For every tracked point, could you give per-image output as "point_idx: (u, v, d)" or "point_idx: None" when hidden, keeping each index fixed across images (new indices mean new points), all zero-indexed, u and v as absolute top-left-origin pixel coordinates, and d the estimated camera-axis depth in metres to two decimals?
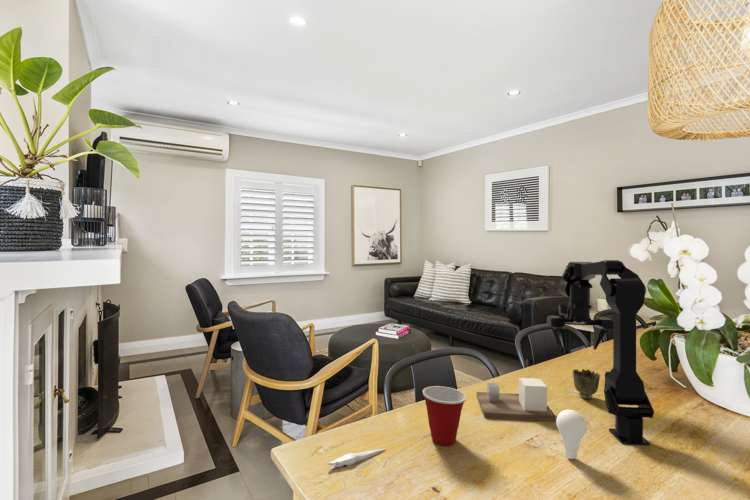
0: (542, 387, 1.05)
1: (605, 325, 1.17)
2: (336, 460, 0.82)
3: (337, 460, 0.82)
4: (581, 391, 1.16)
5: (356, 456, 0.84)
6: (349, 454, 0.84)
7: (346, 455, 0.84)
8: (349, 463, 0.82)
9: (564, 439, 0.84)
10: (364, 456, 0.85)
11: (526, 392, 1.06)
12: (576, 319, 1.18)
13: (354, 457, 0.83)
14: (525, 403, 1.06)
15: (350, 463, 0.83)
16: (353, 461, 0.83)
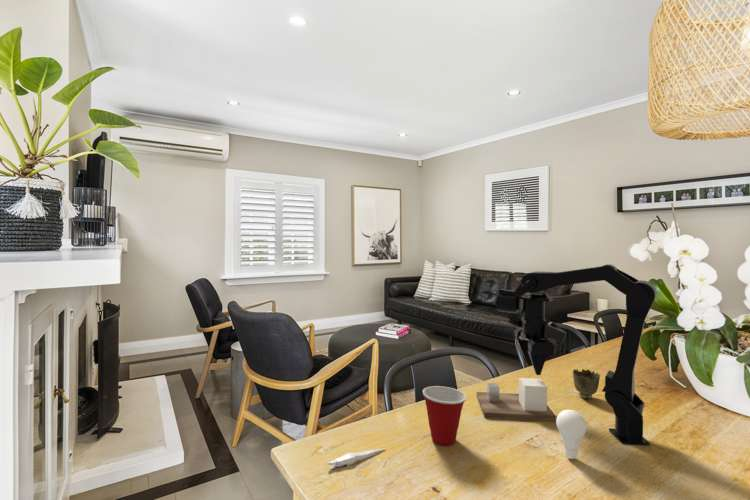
0: (542, 387, 1.05)
1: (528, 346, 1.02)
2: (336, 460, 0.82)
3: (337, 460, 0.82)
4: (581, 391, 1.16)
5: (356, 456, 0.84)
6: (349, 454, 0.84)
7: (346, 455, 0.84)
8: (349, 463, 0.83)
9: (564, 439, 0.84)
10: (364, 456, 0.85)
11: (526, 392, 1.06)
12: (521, 332, 1.10)
13: (354, 457, 0.83)
14: (525, 403, 1.06)
15: (350, 463, 0.83)
16: (353, 461, 0.83)
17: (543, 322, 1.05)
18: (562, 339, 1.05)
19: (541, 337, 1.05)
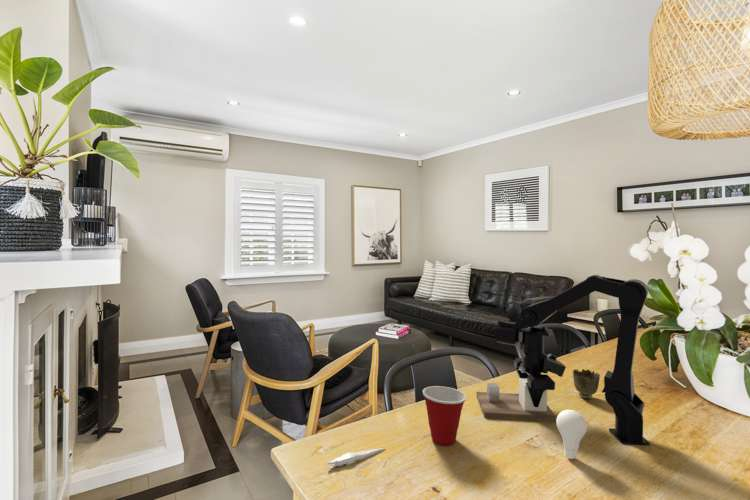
0: None
1: (528, 381, 1.02)
2: (335, 459, 0.82)
3: (336, 459, 0.82)
4: (581, 391, 1.16)
5: (355, 455, 0.84)
6: (348, 453, 0.84)
7: (345, 454, 0.84)
8: (349, 462, 0.83)
9: (564, 439, 0.84)
10: (363, 455, 0.85)
11: (526, 392, 1.06)
12: (520, 365, 1.10)
13: (354, 456, 0.84)
14: (525, 403, 1.06)
15: (349, 462, 0.83)
16: (352, 460, 0.83)
17: (542, 356, 1.05)
18: (561, 373, 1.05)
19: (540, 371, 1.06)
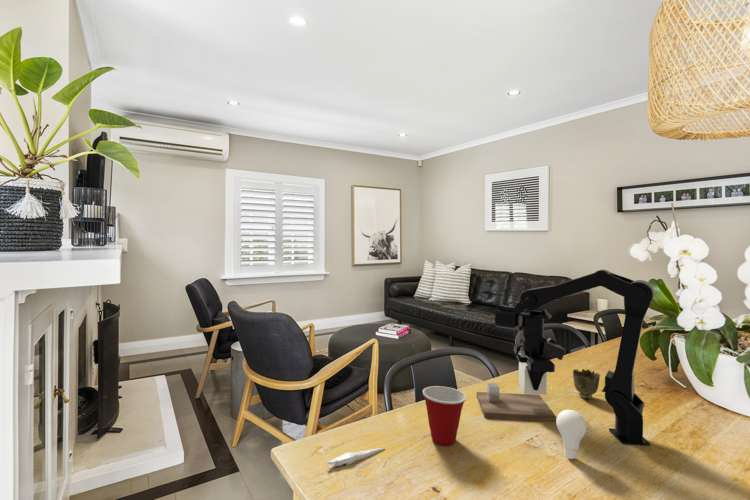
0: None
1: (528, 363, 1.02)
2: (335, 459, 0.82)
3: (336, 459, 0.82)
4: (581, 391, 1.16)
5: (355, 455, 0.84)
6: (348, 453, 0.85)
7: (345, 454, 0.84)
8: (348, 462, 0.83)
9: (564, 439, 0.84)
10: (363, 455, 0.85)
11: (526, 375, 1.06)
12: (520, 349, 1.10)
13: (353, 456, 0.84)
14: (525, 386, 1.06)
15: (349, 462, 0.83)
16: (352, 460, 0.83)
17: (542, 339, 1.05)
18: (561, 356, 1.05)
19: (540, 354, 1.05)
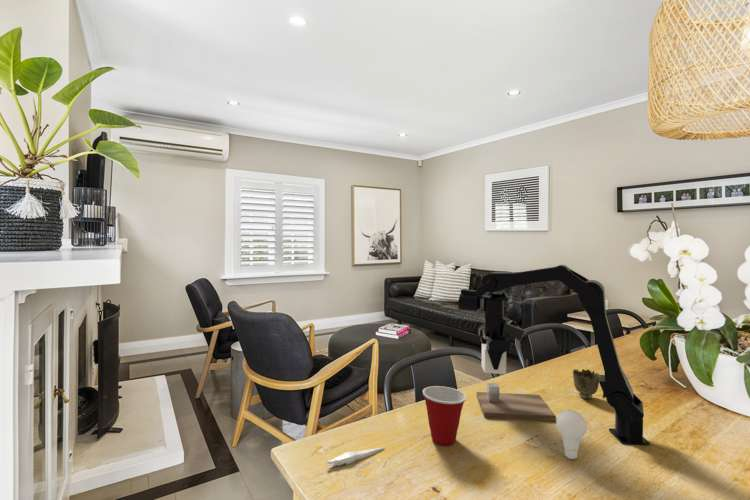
0: None
1: (487, 343, 1.06)
2: (335, 459, 0.83)
3: (336, 459, 0.83)
4: (581, 391, 1.16)
5: (355, 455, 0.84)
6: (348, 453, 0.85)
7: (345, 454, 0.84)
8: (348, 462, 0.83)
9: (564, 439, 0.84)
10: (363, 455, 0.85)
11: (486, 355, 1.10)
12: None
13: (353, 456, 0.84)
14: (485, 366, 1.10)
15: (349, 462, 0.83)
16: (352, 460, 0.83)
17: (502, 320, 1.09)
18: (520, 337, 1.09)
19: (500, 335, 1.09)
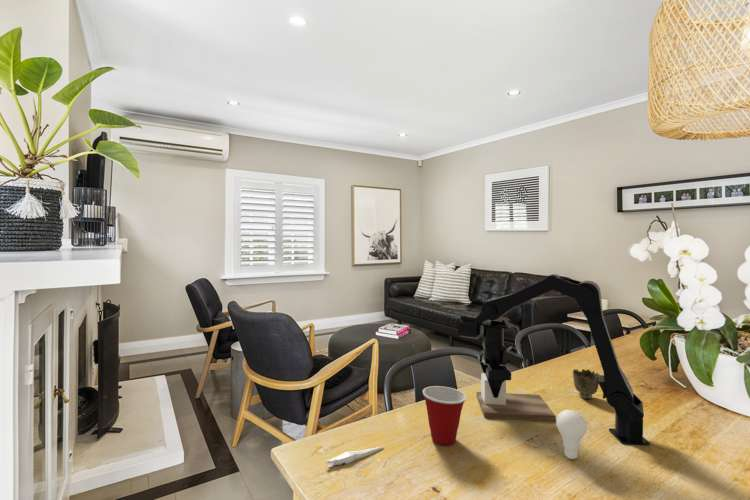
0: None
1: (486, 372, 1.06)
2: (334, 458, 0.83)
3: (335, 458, 0.83)
4: (581, 391, 1.16)
5: (354, 454, 0.85)
6: (347, 452, 0.85)
7: (344, 453, 0.84)
8: (348, 461, 0.83)
9: (564, 439, 0.84)
10: (362, 454, 0.86)
11: (486, 386, 1.10)
12: (482, 357, 1.15)
13: (352, 455, 0.84)
14: (485, 397, 1.10)
15: (348, 461, 0.83)
16: (351, 459, 0.83)
17: (502, 348, 1.10)
18: (520, 364, 1.09)
19: (500, 362, 1.10)
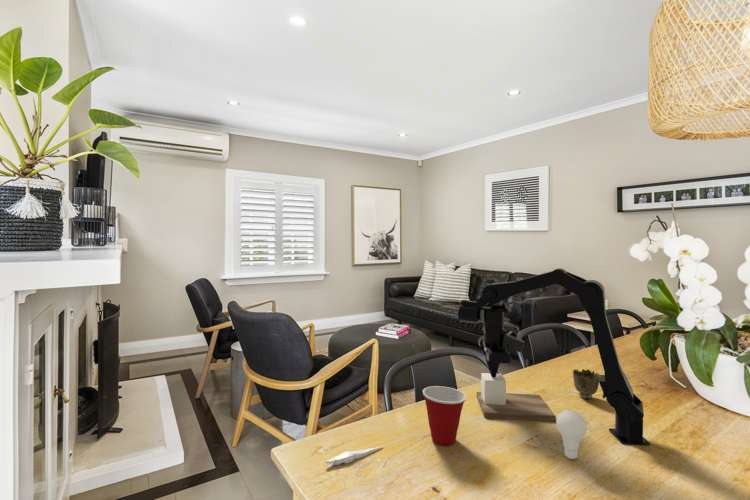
0: (501, 381, 1.09)
1: (487, 355, 1.06)
2: (334, 458, 0.83)
3: (335, 458, 0.83)
4: (581, 391, 1.16)
5: (354, 454, 0.85)
6: (347, 452, 0.85)
7: (344, 453, 0.85)
8: (347, 461, 0.83)
9: (564, 439, 0.84)
10: (362, 454, 0.86)
11: (486, 386, 1.10)
12: None
13: (352, 455, 0.84)
14: (485, 397, 1.10)
15: (348, 461, 0.83)
16: (351, 459, 0.84)
17: (502, 332, 1.09)
18: (520, 348, 1.09)
19: (500, 346, 1.10)
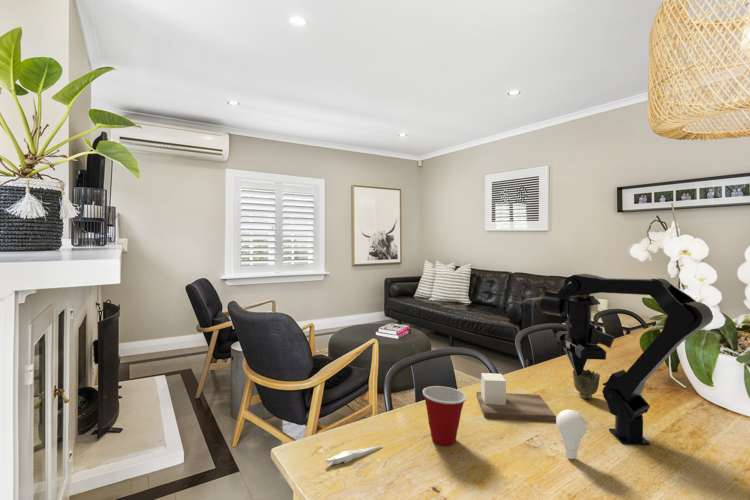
0: (501, 381, 1.09)
1: (576, 351, 0.98)
2: (333, 457, 0.83)
3: (334, 457, 0.83)
4: (581, 391, 1.16)
5: (353, 453, 0.85)
6: (346, 451, 0.85)
7: (343, 452, 0.85)
8: (346, 460, 0.83)
9: (564, 439, 0.84)
10: (361, 453, 0.86)
11: (486, 386, 1.10)
12: (565, 337, 1.06)
13: (351, 454, 0.84)
14: (485, 397, 1.10)
15: (347, 460, 0.84)
16: (350, 458, 0.84)
17: (590, 326, 1.01)
18: (610, 344, 1.01)
19: (588, 342, 1.02)
